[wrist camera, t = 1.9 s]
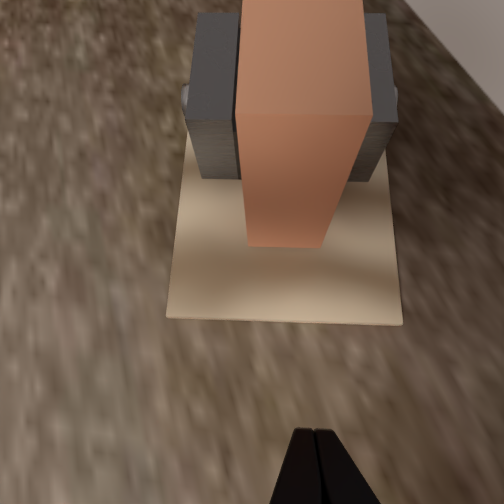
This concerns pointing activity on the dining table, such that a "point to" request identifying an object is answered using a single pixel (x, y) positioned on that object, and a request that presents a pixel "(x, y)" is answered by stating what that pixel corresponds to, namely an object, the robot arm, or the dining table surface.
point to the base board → (283, 259)
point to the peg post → (299, 114)
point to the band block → (225, 89)
